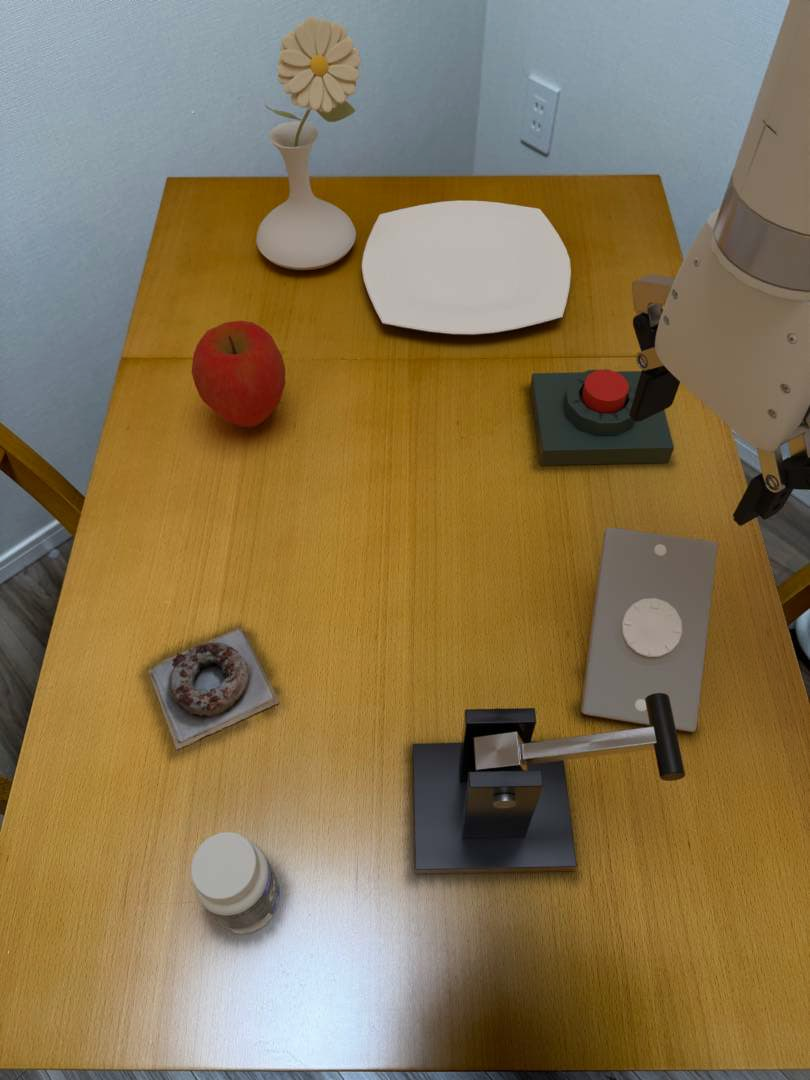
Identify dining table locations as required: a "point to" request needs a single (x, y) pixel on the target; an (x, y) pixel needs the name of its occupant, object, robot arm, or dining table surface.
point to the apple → (239, 372)
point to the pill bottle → (235, 882)
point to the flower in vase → (323, 85)
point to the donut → (211, 687)
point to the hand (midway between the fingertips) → (699, 460)
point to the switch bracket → (489, 805)
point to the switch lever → (589, 745)
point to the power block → (593, 425)
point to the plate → (466, 268)
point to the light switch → (649, 626)
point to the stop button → (605, 391)
